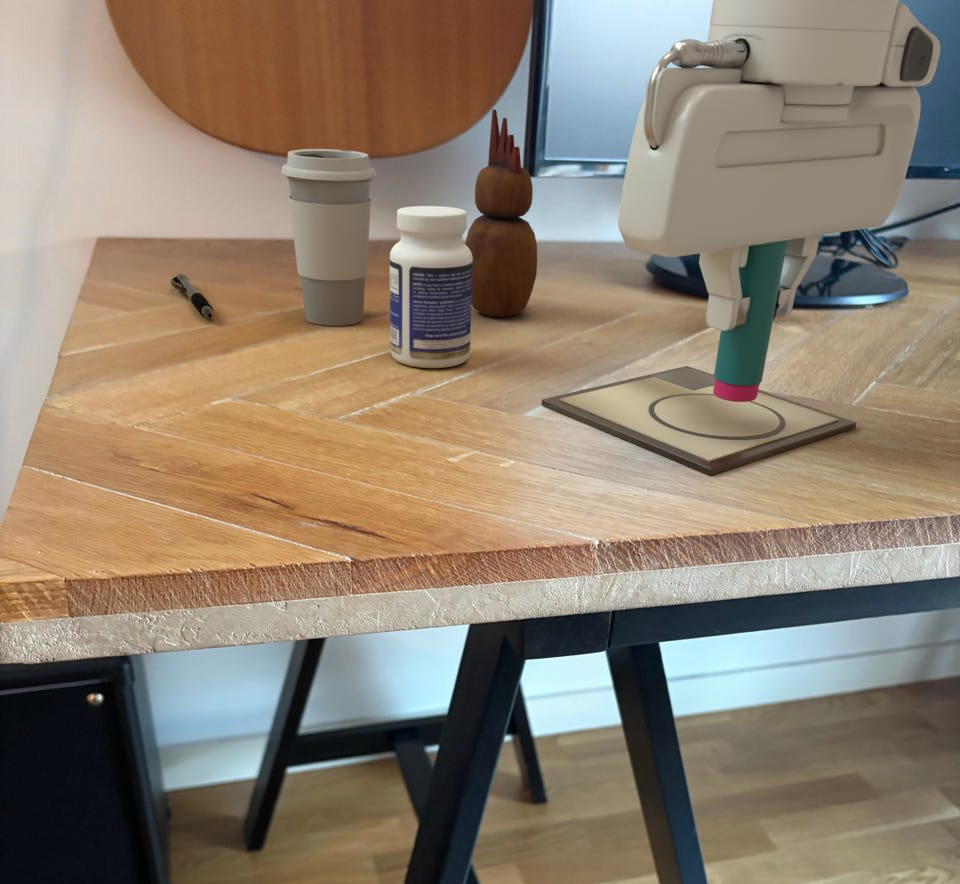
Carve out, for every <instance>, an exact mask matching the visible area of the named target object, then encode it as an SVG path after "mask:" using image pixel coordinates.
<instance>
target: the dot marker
mask: <svg viewBox="0 0 960 884" xmlns="http://www.w3.org/2000/svg"><path fill="white" fill-rule="evenodd" d="M787 241H788V240H786V241H779V242H772V243H766V244H759V245H752V246H749V250H748V256H747V262H746V265H745V267H739V268H738V269H739V277H740V284H741V291H742V295H746V296H750V297H751V300H750V306H749V310H748V312H747V317H748V318H747V323H746V324H745V325H744V326H743V327H739V328H735V329H731V330H727V331H722V330H720V335H719V340H718V345H717V346H718V347H717V353H716V359H715V366H714V372H713V373H714V374H713V375H714V378H715V382H714V389H713V394H714V395H715V396H716V397H718V398H720V399H723V400H727V401H733V402H748V401H753V400H755V399H756V398H757V395H758V390H760V384H761V383H762V381H763V377H764V372H765V366H766V361H767V355H768V349H769V343H770V340H771V339H770V338H771V333H772V327H773V322H774V320H773V317H774V312H775V306H776V301H777V296H778V290H779V285H780V279H781V274H782V268H783V263H784V257H785V252H786V247H787Z"/></svg>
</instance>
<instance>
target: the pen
mask: <svg viewBox="0 0 960 884" xmlns="http://www.w3.org/2000/svg"><path fill="white" fill-rule="evenodd" d="M170 286H172V287H173V288H174V289H176V290H180V293H183V294H184V293H185V294H186V296H187V297H188V298H189V300H190V302H191V304H192V305H193V307H194V308H195V310H196V311H197V312H198V313H199V315H200V316H201V317H203V318H206V319H211V318H212V317H213V316H214V308H213V306H212V305H211V304H210V302H209V301H208V300H207V298H206V297H205V296H204V295H203V294H202V293H200V292H199V290H197V288H196V287H195V286H194V285H193V283H192V282H191V281H190V279H189V278H188V276H187V275H186V274H185V273H177V274H176V275H175V276H174V277H172V278H171V279H170Z"/></svg>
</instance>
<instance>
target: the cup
mask: <svg viewBox="0 0 960 884" xmlns="http://www.w3.org/2000/svg"><path fill="white" fill-rule="evenodd" d="M281 167H282V168H281V174H282V175H283V176H285V177H286V178H287V179H288V184H289V185H288V186H289V192H290V195H289V196H288V202H289V212H290V219H291V227H292V234H293V244H294V251H295V261H296V268H297V269H296V270H297V273H298V275H299V277H300V286H301V295H302V303H303V310H304V318H305V321H306V322H309V323H310V324H313V325H319V326H328V327H342V326H352V325H356V324H359V323H361V322H363V320H364V311H365V310H364V306H365V287H366V276H367V275H368V264H369V263H368V262H369V261H368V260H369V244H370V243H369V242H370V221H371V206H372V205H371V203H372V202H371V201H372V200H371V198H370V184H371V182H372V181H373V179H375V178H376V177H377V172H376V169H375V168H374V166H372V165H370V156H369V154H367V153H366V152H362V151H355V150H347V149H333V148H331V149H330V148H302V149H294V150H289V151H288V152H287V161H286V163H283V165H282V166H281Z"/></svg>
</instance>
